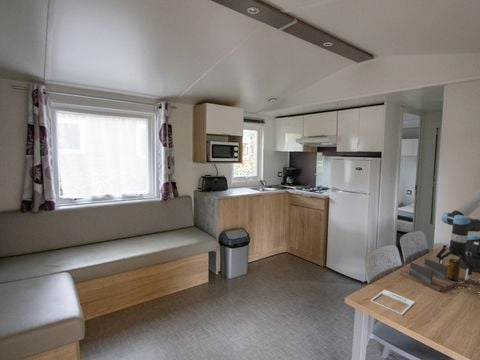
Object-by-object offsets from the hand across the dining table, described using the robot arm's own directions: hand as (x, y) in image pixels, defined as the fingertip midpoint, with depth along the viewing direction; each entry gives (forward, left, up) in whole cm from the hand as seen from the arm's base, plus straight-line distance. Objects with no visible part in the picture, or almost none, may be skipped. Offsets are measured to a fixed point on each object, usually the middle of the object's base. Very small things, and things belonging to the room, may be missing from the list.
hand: (453, 274), depth 164 cm
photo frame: (+61, +1, -4) cm, 61 cm away
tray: (+17, -6, -3) cm, 18 cm away
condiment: (0, 0, -4) cm, 4 cm away
